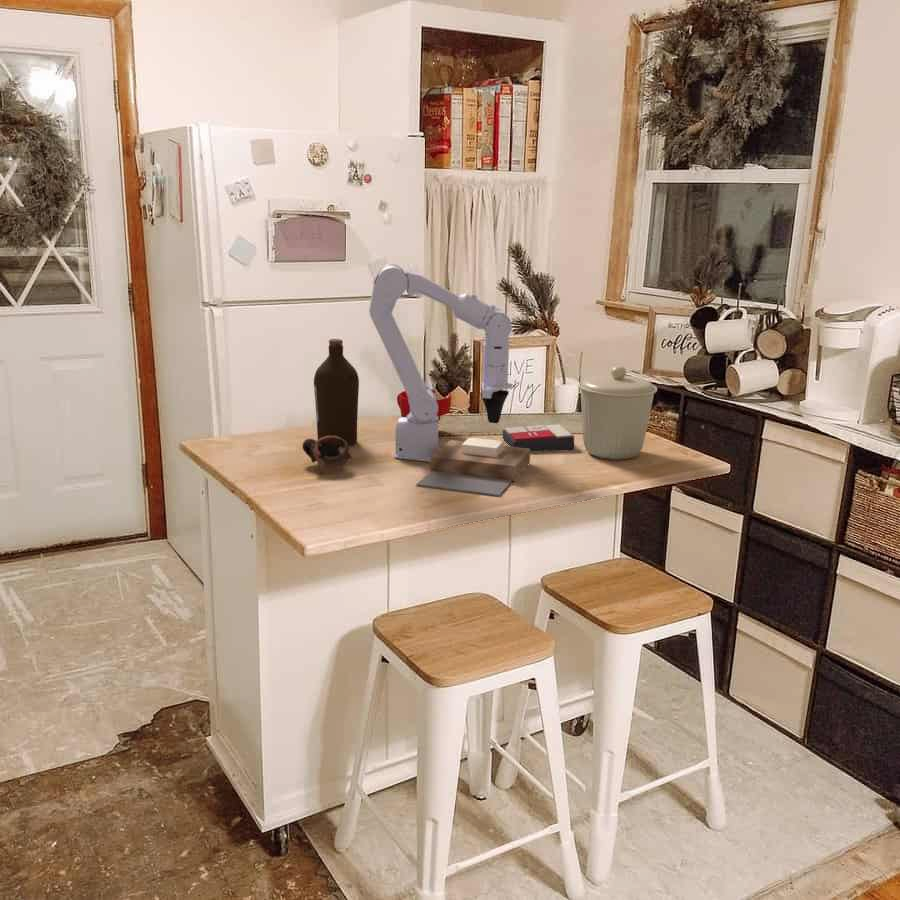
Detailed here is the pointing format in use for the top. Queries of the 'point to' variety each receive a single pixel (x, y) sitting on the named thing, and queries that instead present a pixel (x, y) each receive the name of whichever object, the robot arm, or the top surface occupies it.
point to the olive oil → (336, 396)
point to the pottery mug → (327, 452)
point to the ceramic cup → (442, 404)
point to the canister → (615, 413)
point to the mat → (464, 483)
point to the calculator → (539, 437)
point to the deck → (480, 462)
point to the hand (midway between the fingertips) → (493, 422)
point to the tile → (482, 447)
